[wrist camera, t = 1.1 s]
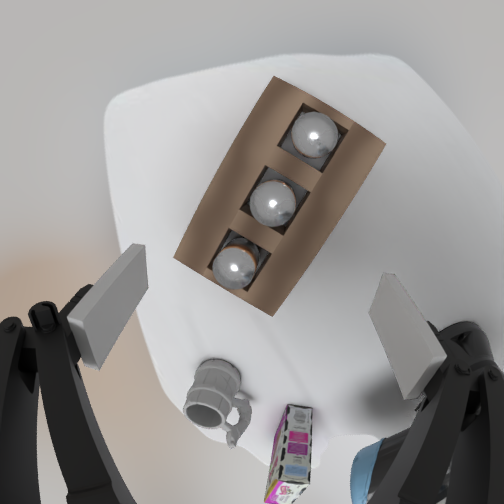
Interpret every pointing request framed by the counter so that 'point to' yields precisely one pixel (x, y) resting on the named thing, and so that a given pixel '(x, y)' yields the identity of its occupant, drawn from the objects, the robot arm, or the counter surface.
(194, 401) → the mug
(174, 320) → the counter surface
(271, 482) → the candy bar box
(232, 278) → the knob
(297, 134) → the knob
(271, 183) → the knob
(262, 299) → the wooden candle holder
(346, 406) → the counter surface
